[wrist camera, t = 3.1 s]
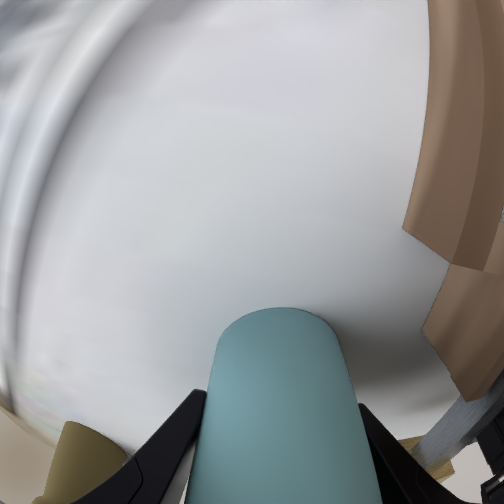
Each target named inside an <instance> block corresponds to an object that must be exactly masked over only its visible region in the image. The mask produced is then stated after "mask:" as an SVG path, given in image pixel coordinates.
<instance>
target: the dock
mask: <svg viewBox="0 0 504 504" xmlns="http://www.w3.org/2000/svg"><path fill="white" fill-rule="evenodd" d="M428 12H429V30H430V65H429V85H428V97H427V108H426V116H425V124H424V131H423V138H422V144H421V150H420V156H419V161H418V166H417V171H416V176H415V180H414V185H413V189H412V193H411V197H410V201H409V205H408V209H407V213H406V217H405V220H404V224H403V227H402V229H403V230H405V231H406V232H408V233H409V234H411V235H412V236H414V237H415V238H416V239H418V240H419V241H421V242H422V243H424V244H425V245H426V246H428V247H429V248H430V249H432V250H433V251H435V252H436V253H437V254H439V255H440V256H441V257H443V258H444V259H445V260H447V261H448V262H449V263H450V266H449V269H448V272H447V274H446V277H445V279H444V282H443V284H442V286H441V289H440V291H439V294H438V296H437V298H436V300H435V302H434V305H433V307H432V309H431V311H430V313H429V315H428V317H427V319H426V321H425V323H424V325H423V327H422V329H421V330H422V332H423V333H424V335H425V336H426V338H427V339H428V340H429V342H430V343H431V345H432V346H433V348H434V349H435V351H436V352H437V354H438V355H439V357H440V358H441V360H442V361H443V363H444V364H445V366H446V367H447V369H448V371H449V372H450V374H451V376H450V377H451V378H452V380H453V382H454V383H455V385H456V387H457V388H458V390H459V392H460V393H461V395H462V397H463V398H464V400H465V402H470V401H474V400H478V399H481V398H482V397H483V396H484V395H485V393H486V392H487V391H488V389H489V388H490V387H491V386H492V384H493V383H494V381H495V380H496V379H497V377H498V376H499V375H500V373H501V372H502V370H503V369H504V223H502V222H500V218H501V214H502V210H503V206H504V0H428Z"/></svg>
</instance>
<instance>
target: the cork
mask: <svg viewBox="0 0 504 504" xmlns="http://www.w3.org/2000/svg"><path fill="white" fill-rule="evenodd" d="M126 458H127V455H126V454H125V452H124V451H123V450H122V449H121V448H120V447H119V446H118V445H116V444H115V443H114V442H112V441H111V440H109V439H108V438H106V437H105V436H103V435H101V434H100V433H98V432H96V431H94V430H92V429H90V428H89V427H86V426H84V425H82V424H79V423H76V422H72V421H67V422H66V423H65V425H64V427H63V430H62V433H61V436H60V439H59V442H58V445H57V448H56V451H55V455H54V458H53V461H52V464H51V468H50V471H49V475H48V479H47V483H46V487H45V491H44V495H43V496H40V497H37V498H35V499H34V501H33V502H32V504H69V503H71V502H73V501H75V500H77V499H79V498H81V497H82V496H84V495H85V494H87V493H88V492H90V491H91V490H93V489H94V488H95V487H97V486H98V485H100V484H101V483H103V482H104V481H105V480H107V479H108V478H109V477H111V476H112V475H113V474H114V473H116V472H117V471H118V470H119V469H120V468H121V467H122V466H123V464H124V462H125V460H126Z"/></svg>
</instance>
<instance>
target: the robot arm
mask: <svg viewBox="0 0 504 504" xmlns="http://www.w3.org/2000/svg"><path fill="white" fill-rule="evenodd" d="M205 399H206V391H204V390H199V389H194V390H193V391H192V392H191V393H190V394H189V395H188V396H187V398H186V399H185V400H184V401H183V402H182V403H181V404H180V406H179V407H178V408H177V409H176V410H175V411H174V412H173V413H172V414H171V416H170V417H169V418H168V419H167V420H166V421H165V422H164V423H163V424H162V425H161V427H160V428H159V429H158V430H157V431H156V432H155V433H154V434H153V435H152V436H151V437H150V438H149V439H148V441H147V442H146V443H145V444H144V445H143V446H142V447H141V448H140V449H139V450H138V451H137V452H136V453H135V454H134V456H132V457H131V458H130V459H129V460H128V461H127V462H126V463H125V464H124V465H123V466H122V467H121V468H120V469H119V470H118V471H117V472H116V473H114V474H113V475H112V476H111V477H109V478H108V479H107V480H105V481H104V482H103V483H101V484H100V485H98V486H97V487H95V488H94V489H93V490H91V491H90V492H88V493H87V494H85V495H84V496H82V497H81V498H79V499H77V500H75V501H73V502H71V503H69V504H179V502H180V500H181V497H182V494H183V491H184V488H185V485H186V482H187V479H188V476H189V473H190V470H191V466H192V461H193V456H194V451H195V446H196V441H197V436H198V432H199V427H200V422H201V417H202V413H203V408H204V403H205ZM358 407H359V410H360V414H361V417H362V421H363V424H364V428H365V432H366V435H367V439H368V443H369V447H370V451H371V455H372V459H373V463H374V467H375V471H376V476H377V480H378V484H379V489H380V494H381V498H382V503H383V504H478V503H469V502H465V501H462V500H460V499H459V498H457V497H456V496H455V495H453V494H452V493H451V492H450V491H448V490H447V489H446V488H445V487H443V486H442V485H441V484H440V483H439V482H437V481H436V480H435V479H434V478H433V477H432V476H431V475H430V474H429V473H428V472H427V471H426V470H425V469H424V468H423V467H422V466H421V465H420V464H418V462H417V461H416V460H415V459H414V458H413V457H412V456H411V455H410V454H409V453H408V451H407V450H406V449H405V448H404V447H403V446H402V445H401V444H400V443H399V442H398V441H397V440H396V439H395V438H394V436H393V435H392V434H391V433H390V432H389V431H388V430H387V429H386V428H385V427H384V426H383V425H382V423H381V422H380V421H379V420H378V419H377V418H376V417H375V416H374V415H373V414H372V413H371V411H370V410H369V409H368V408H367V407H366V406H365V405H364V404H362V403H358ZM474 442H478V444H479V446H480V448H481V450H482V453H483V455H484V457H485V459H486V462H487V464H488V465H490V468H491V471H492V473H493V475H495V474H496V475H495V476H494V477H492V478H491V479H490V480H488V481H486V482H484V483H483V484H481V496H482V503H483V504H504V480H503V481H502V482H500V481H499V479H500V478H501V477H503V476H504V407H503V408H502V409H501V411H500V412H499V413H498V414H497V415H496V416H495V417H494V419H493V420H492V421H491V422H490V423H489V424H488V425H487V426H486V427H485V428H484V429H483V430H482V431H481V432H480V433H479V434H478V435H477V436H476V437H475V438H474V439H473V440H472V441H471V442H470V443H469V444H468V445H470V444H472V443H474ZM0 504H5V503H3V502H2V501H0Z"/></svg>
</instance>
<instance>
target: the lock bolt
mask: <svg viewBox="0 0 504 504" xmlns="http://www.w3.org/2000/svg"><path fill="white" fill-rule="evenodd" d="M503 407H504V369H503V370H502V372H501V373H500V375H499V376H498V377H497V379H496V380H495V381H494V383H493V384H492V386H491V387H490V388H489V389H488V391H487V392H486V393H485V395H484V396H483V397H482V398H481V399H478V400H474V401H470V402H465V400H464V398H463V397H462V395H461V396H460V397H459V398H458V399H457V401H456V402H455V403H454V404H453V405H452V407H451V408H450V409H449V410H448V411H447V412H446V414H445V415H444V416H443V417H442V418H441V419H440V420H439V421H438V422H437V424H436V425H435V426H434V427H433V428H432V429H431V430H430V431H429V432H428V433H427V434H426V435H422V436H418V437H413V438H408V439H402V440H397V441H398V442H399V443H400V444H401V445H402V446H403V447H404V448H405V449H406V450H407V451H408V453H409V454H410V455H411V456H412V457H413V458H414V459H415V460H416V461H417V462H418V464H420V465H421V466H422V467H423V468H424V469H425V470H426V471H427V472H428V473H429V474H430V475H431V476H432V477H433V478H434V479H435V480H436V481H437V482H439V483H442V482H443V481H445V480H446V479H447V478H449V477H450V476H452V475H453V474H454V473H455V471H454V469H453V466H452V464H451V461H450V459H452V458H453V457H454V456H455V455H457V454H458V453H459V452H460V451H461V450H462V449H463V448H465V447H466V446H467V445H468V444H469V443H470V442H471V441H472V440H473V439H474V438H475V437H476V436H477V435H478V434H479V433H480V432H481V431H482V430H483V429H484V428H485V427H486V426H487V425H488V424H489V423H490V422H491V421H492V420H493V419H494V417H495V416H496V415H497V414H498V413H499V412H500V411H501V409H502V408H503Z"/></svg>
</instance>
